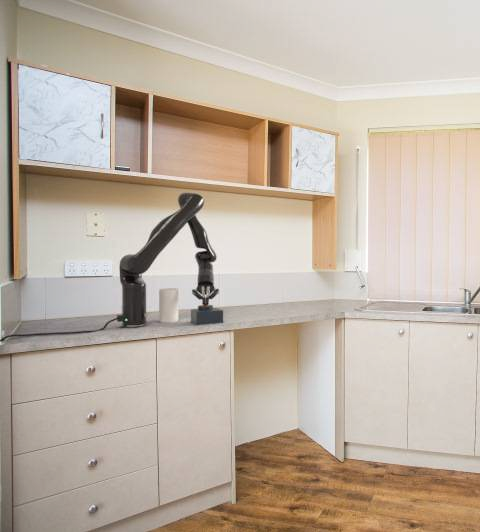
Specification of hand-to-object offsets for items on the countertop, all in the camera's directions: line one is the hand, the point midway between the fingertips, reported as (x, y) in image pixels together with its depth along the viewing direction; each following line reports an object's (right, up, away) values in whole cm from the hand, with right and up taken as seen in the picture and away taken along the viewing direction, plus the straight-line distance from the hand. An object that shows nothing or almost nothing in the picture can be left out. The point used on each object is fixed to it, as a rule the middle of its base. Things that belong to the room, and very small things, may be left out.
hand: (205, 304), depth 195 cm
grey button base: (+2, -9, -2) cm, 9 cm away
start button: (0, -2, 0) cm, 2 cm away
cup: (-18, -8, 0) cm, 20 cm away
